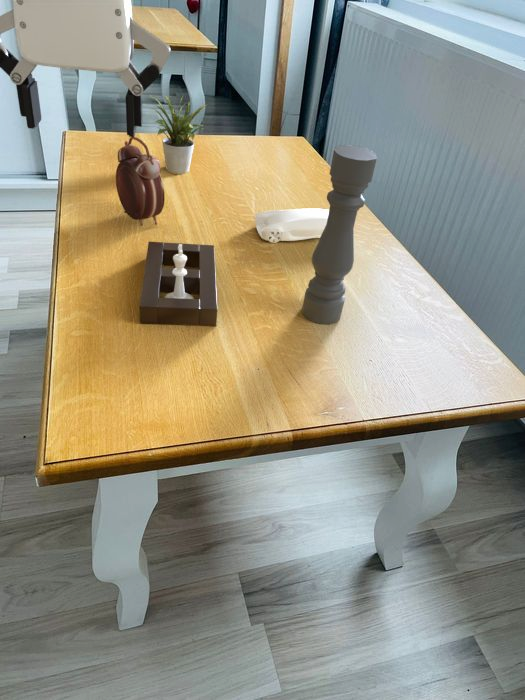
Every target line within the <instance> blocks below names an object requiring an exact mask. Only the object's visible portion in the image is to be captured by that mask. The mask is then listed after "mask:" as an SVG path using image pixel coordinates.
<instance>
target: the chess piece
mask: <svg viewBox="0 0 525 700" xmlns="http://www.w3.org/2000/svg"><path fill="white" fill-rule="evenodd" d="M182 244H183V243H182ZM182 244H179V246H178V254H176V255H174V256H173V260H174V263H175V266H174V267H175V268H174V269H173V271H172V273H173V274H174V275H175V276H176V282H175V288H174V292H172V293H166V294H165V296H164V297H163V298H181V299H195V297H194V296H193V295H192V294H188V293H185V291H184V282H183V276H185V275H186V274H187V271H186V269H187V268H185V267H186V266H185V263H186V261H187V257H186V256H185V255H183V251H182Z"/></svg>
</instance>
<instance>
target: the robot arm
mask: <svg viewBox="0 0 525 700" xmlns="http://www.w3.org/2000/svg"><path fill="white" fill-rule="evenodd" d="M12 5H13V9H10V10H9V11H7V12H5V13H3V14H0V36H1V35H2V34H4V33H7V32H8V31H10V30H12V29H15V37H16V44H17V48H18V52H19V54H20V56H21V58H20V60H19V59H17V57H15V56H14V54H13V53H12V52H11V51H9V50H8V49H7V47H6V46H5V45H4V42H3V41H2V39H1V38H0V69H1V70H2V71H3V72H4V73H5V74H6V75H7V76H8V77H9V79H10V81H11V82H12V83H13V84H14V85H15V87H16V93H17V94H16V95H17V99H18V107H19V113H20V116H21V117H25V119H26V126H27V129H33V130H34V129H35V128H37V127H38V125H39V124H40V123H41V121H42V112H41V111H42V110H41V104H40V95H39V88H38V81H37V80H36V79H35V78H34V77H33V72H34V70H35V69H36V68H37V66H42V67H51V68H60V69H69V70H78V71H79V70H80V71H88V72H89V71H90V72H98V73H100V72H101V73H116V75H117V76H118V77H119V78H120V80H121V81H122V82H123V83H124V85H125V86H126V87H127V91H126V94H125V118H126V119H125V120H126V136H128V137H129V138H130V137H136V133H137V127H140V128H141V127H143V93H144V92H145V91H146V90H147V89H148V88H149V87H150V86H151V85H152V84H153V83H154V82H155V81H156V80H157V79H158V78H159V77H160V74H161V73H162V70H163V69H164V66H165V64H166V63H167V61H168V58H169V57H170V54H171V47H170V45H169V44H168V43H167V42H165V41H164V40H162V39H161V38H160V37H158V36H156V35H155V34H153V33H152V32H151V31H149V30H147V29H146V28H145V27H143V26H142V25H140V24H139V23H137V22H135V21H134V20H133V9H132V0H12ZM134 42H136V43H137V44H139V45H140V46H142V47H143V48H144V49H146V50H148V51H149V52H150V53H151V55H152V58H151V60H150V62H149V63H148V65H147V66H145V67H144V69H142V71H138V69H137V68H136V66H134V65H135V64H133V62H132V61H131V60H133V58H134V53H135V52H134V50H135V48H134V47H135V46H134V45H135V43H134Z"/></svg>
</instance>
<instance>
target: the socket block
mask: <svg viewBox="0 0 525 700" xmlns="http://www.w3.org/2000/svg"><path fill="white" fill-rule="evenodd" d="M179 244H182V251H183V255H185V256H186V257H187V261H186V263H185V266H184V267H185V269H186V271H187V274H186V275H185V276H183V282H184V291H185V293H188V294H190V295H198V298H194V299H181V298H164V297H161V294H162V293H165V294H169V293H172V292H174V288H175V282H176V276H175V275H174V274H173V273H172V271H173V269H175V268H174V267H176V266H175V263H174V260H173V256H174V255H176V254H178V246H179ZM215 255H216V254H215V245H214V244H212V245H211V244H199V243H197V244H196V243H183V242H182V243H181V242H180V243H179V242H164V241H163V242H162V241H148V243H147V250H146V257H145V264H144V270H143V271H144V272H143V277H142V285H141V286H142V287H141V293H140V299H139V300H140V301H139V305H138V307H139V309H138V310H139V324H140V325H168V326H169V325H172V326H174V325H175V326H196V327H197V326H199V327H217V323H218V294H217V293H218V292H217V276H216V274H217V271H216V257H215ZM164 266H167V267H164ZM169 266H170V267H171V268H170V267H169ZM172 267H173V268H172ZM186 267H187V268H186ZM189 267H190V268H198V269H190V268H189Z"/></svg>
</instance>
